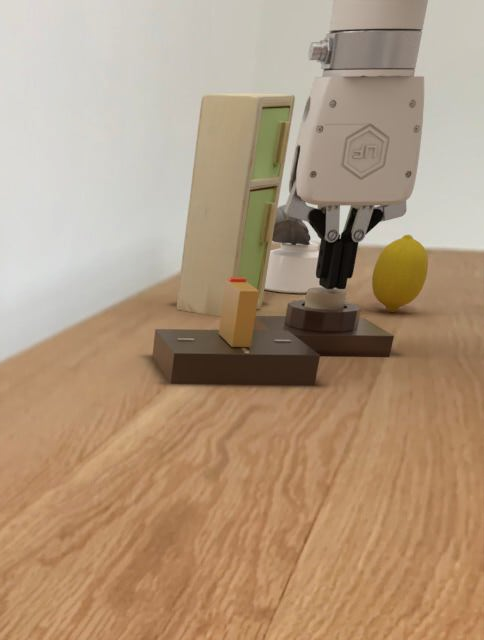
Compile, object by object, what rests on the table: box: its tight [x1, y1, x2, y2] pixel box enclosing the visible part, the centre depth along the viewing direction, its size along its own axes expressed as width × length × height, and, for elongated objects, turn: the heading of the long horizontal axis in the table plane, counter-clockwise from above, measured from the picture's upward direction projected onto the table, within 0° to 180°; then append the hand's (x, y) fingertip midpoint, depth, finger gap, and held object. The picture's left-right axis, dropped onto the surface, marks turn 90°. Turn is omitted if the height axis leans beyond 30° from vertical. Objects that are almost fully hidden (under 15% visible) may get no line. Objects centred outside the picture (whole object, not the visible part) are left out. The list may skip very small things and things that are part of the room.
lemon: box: [371, 234, 429, 313], centre depth 122 cm, size 6×6×8 cm
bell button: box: [304, 287, 348, 310], centre depth 105 cm, size 4×4×2 cm
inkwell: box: [264, 204, 322, 294], centre depth 132 cm, size 9×18×10 cm, turn 150°
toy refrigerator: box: [176, 92, 296, 318], centre depth 119 cm, size 8×7×21 cm
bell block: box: [253, 298, 395, 358], centre depth 106 cm, size 11×9×4 cm
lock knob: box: [218, 277, 259, 348], centre depth 94 cm, size 6×2×5 cm, turn 179°
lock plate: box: [151, 328, 321, 387], centre depth 96 cm, size 12×10×3 cm
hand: (331, 286), depth 104 cm, fingers closed
